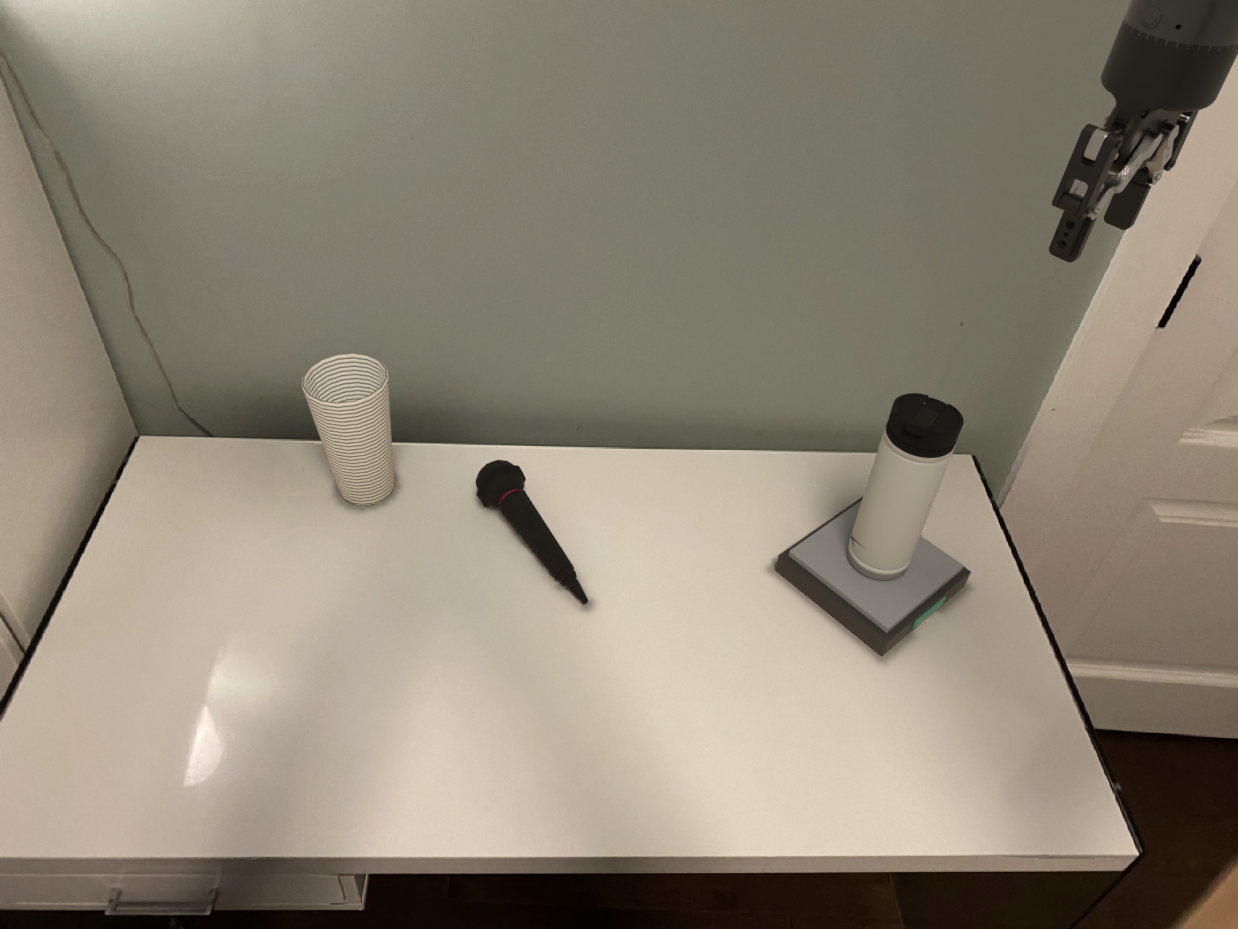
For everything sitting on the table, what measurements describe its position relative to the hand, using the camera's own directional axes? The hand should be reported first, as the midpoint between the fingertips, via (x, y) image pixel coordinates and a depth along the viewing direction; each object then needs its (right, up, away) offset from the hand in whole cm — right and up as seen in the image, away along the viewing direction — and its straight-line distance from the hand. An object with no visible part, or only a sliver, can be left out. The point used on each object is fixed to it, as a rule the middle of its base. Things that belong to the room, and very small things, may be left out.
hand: (1090, 240), depth 72 cm
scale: (-11, -30, +24) cm, 39 cm away
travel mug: (-11, -28, +21) cm, 36 cm away
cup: (-65, -20, +31) cm, 75 cm away
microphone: (-47, -26, +25) cm, 59 cm away
